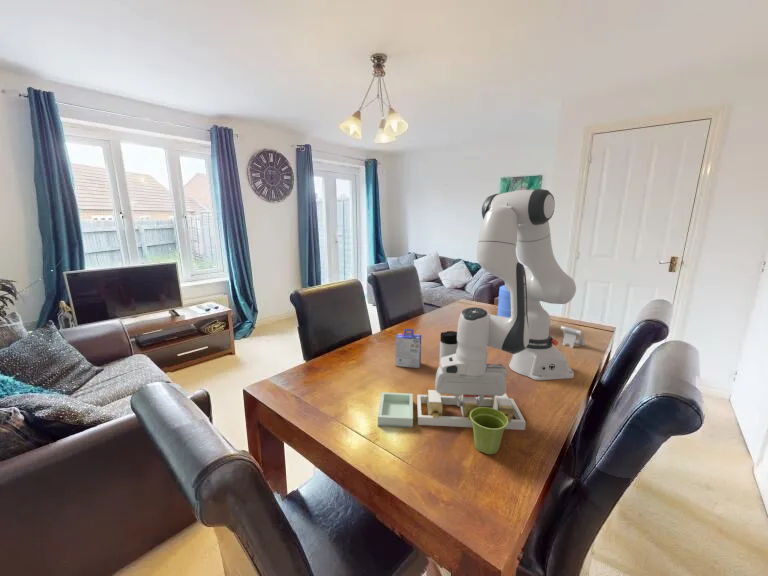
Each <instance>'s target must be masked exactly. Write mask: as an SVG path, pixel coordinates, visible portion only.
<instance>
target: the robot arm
mask: <svg viewBox="0 0 768 576" xmlns="http://www.w3.org/2000/svg"><path fill="white" fill-rule="evenodd" d="M555 205H556V204H555V196H554V195H553V194H552V193H551V192H550V190H548V189H543V188H535V189H516V190H514V191H508V192H507V191H506V192H502V193H495V194H492V195H489V196H487V197H486V198H485V200H484V202H483V204H482V207H481V217H482V219H483V220H482V223H481V227H480V230H479V234H478V239H477V244H476V245H477V246H476V260H477V262H478V265H479V266H480V268H482V269H483V270H485V271H486V272H487V273H489V274H491V275H493V277H497V278H499V279H500V280H502V281H503V282H504V285H505V286H506V289H507V290H508V291H509V292H510V297H511V317H509V318H507V317H502V316H497V314H496V315H495V314H492V313H488V311H487V310H486V309H484V308H482V307H476V306H475V307H468V308H467V307H466V308H464V309H463V310H461V312H460V314H459V318H458V322H457V330H456V332H457V342H458V347H457V350H456V353H455V354H452V355H449V356H445V357H442V358H441V359H440V367H439V366H438V368H437V370H436V372H435V373H436V374H435V379H434V381H435V382H434V390H436V391H437V393H440V395H441V394H442V395H444V394H445V395H453V396H455V398H456V399H457V405H456V406H457V407H463V400H462V399H460V398H459V397H460V394H466V395H475V396H477V397H478V398H477V399H476V401H477V403H478V407H481V406H480V403H481V401H482V400H483V399H484V397H485V396H491V397H492V396H503V395H504V394H505V393H506V391H507V390H506V389H507V388H506V378H507V375H508V369H507V367H505V366H504V365H502V364H494V363H488V356H489V355H488V350H487V349H488V347H490V348H494V349H498V350H501V351H504V352H507V353H509V354H512V356H511V359H510V361H509V363H508V366H509V368H510V369H511V370H512V371H514V372H515V373H517V374H519V375H521V376H522V375H523V376H525V377H529V378H531V379H532V380H534V381H547V380H566V379H573V378H574V375H575V373H574V371H573V370H572V368H571V367H570V366H569V365H568V361H567V358H566V356H565V355H564V354H563V353H562V352H561V351H560V350H559V349H558V348H556V347H555V346H558V345H559V341H558V340H557V339H556V338H554V337H552V336H551V335H550V328H551V327H550V326H551V316H550V314H549V312H548V311H547V310H546V309H544V308H543V306H542V304H541V302H543V303H547V304H555V305H566V304H568V303H570V301H572V300H573V299H574V297H575V295H576V293H577V284H576V282H575V280H574V279H573V278H572V277H571V276H569V274H567V272H565V271H564V270H563V269H562V268H561V266H560V265H559V264H558V262H557V260H556V257H555V255H554V252H553V251H554V250H553V245H552V237H551V227H550V222H549V221H550V220H551V219H552V217H553V215H554V212H555V207H556V206H555Z"/></svg>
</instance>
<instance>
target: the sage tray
mask: <svg viewBox="0 0 768 576" xmlns="http://www.w3.org/2000/svg"><path fill="white" fill-rule="evenodd" d="M413 396H414V394H413V393H407V392H404V393H403V392H386V391H385V392H380V399H379V400H380V401H379V405H378V406H379V408H378V412H377V413H378V414H377V427H384V428H385V427H389V428H404V429H405V428H406V429H407V428H409V429H412V428H414V427H413V426H414V425H413V424H414V410H413V409H414V404H413V403H414V401H413Z"/></svg>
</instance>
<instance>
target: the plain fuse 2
mask: <svg viewBox="0 0 768 576" xmlns="http://www.w3.org/2000/svg"><path fill="white" fill-rule="evenodd" d="M491 398H492V402H491V407H490V408H493V409H496V410H499V411H501V412H502V413H503V414H505V416H508V417H510V419H514V415H513V411H514V408H513V406H512V404H511V402H510V400H509V397H508V395H507V393H506V392H505V394H504V395H503V396H492V395H491Z"/></svg>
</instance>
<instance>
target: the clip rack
mask: <svg viewBox="0 0 768 576" xmlns="http://www.w3.org/2000/svg"><path fill="white" fill-rule="evenodd" d="M416 396H417V397H416V405H417V406H416V408H417V409H416V410H417V413H416V414H417V425H418V426H436V427H437V426H438V427H441V426H442V427H454V428H455V427H457V428H458V427H459V428H473V424H472V421H471V419H470V415H468V417H463V416H452V415H451V416H447V415H446V416H445V415H442V416H439V415H438V413H433V416H430V415H428V414H427V415H424V414H422V404H425V405H427V394H417V395H416ZM440 396H441V402H442V405H450V406H453V405H454V406H458V405H457V399H456V398H455V395H440ZM459 398H460V397H459ZM475 398H476V399H477V398H478V396H475ZM508 398H509V397H508ZM509 400H510V402H511V404H512V406H513V408H514V411H513V417H514V418H515V419H514V418H513V419H510V417H508V416H506V417H507V418H508V425H507V426H506V427H505V430H515V431H516V430H517V431H519V430H520V431H524V430H526V420H525V418H524V416H523V414H522V413H521V411H520V409H519V408H518V405H517V403H516V402H515V400H514V398H509ZM491 402H492V397H485V396H484V399H483V400H482V401H481V403H480V407H489V408H491Z"/></svg>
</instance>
